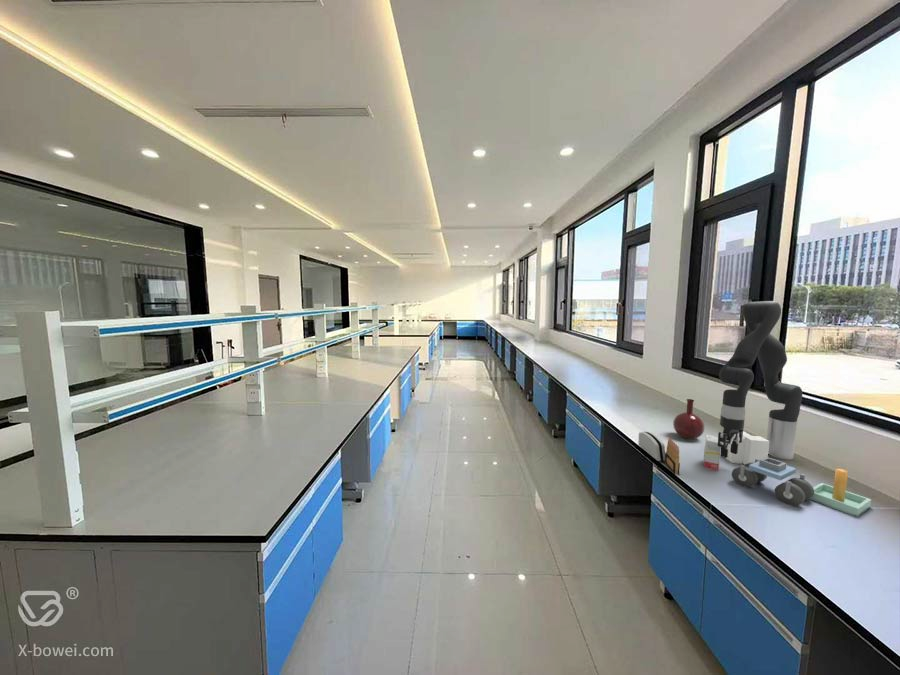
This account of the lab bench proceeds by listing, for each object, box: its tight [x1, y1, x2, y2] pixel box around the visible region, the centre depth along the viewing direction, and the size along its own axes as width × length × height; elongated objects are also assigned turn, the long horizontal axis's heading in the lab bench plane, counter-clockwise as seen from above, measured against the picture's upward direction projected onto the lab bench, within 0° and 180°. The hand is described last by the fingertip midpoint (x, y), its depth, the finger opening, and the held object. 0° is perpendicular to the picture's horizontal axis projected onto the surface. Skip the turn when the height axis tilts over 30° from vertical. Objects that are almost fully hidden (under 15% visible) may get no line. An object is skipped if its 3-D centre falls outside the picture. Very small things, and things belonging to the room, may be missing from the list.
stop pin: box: [832, 468, 849, 503], centre depth 119 cm, size 3×3×11 cm
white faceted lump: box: [725, 430, 770, 465], centre depth 150 cm, size 11×11×12 cm
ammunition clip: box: [664, 437, 681, 476], centre depth 143 cm, size 11×2×12 cm, turn 166°
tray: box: [808, 482, 872, 518], centre depth 120 cm, size 12×12×3 cm
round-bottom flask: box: [672, 398, 705, 440], centre depth 176 cm, size 13×13×20 cm
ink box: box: [703, 434, 721, 471], centre depth 147 cm, size 9×5×12 cm, turn 145°
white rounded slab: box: [638, 431, 666, 462], centre depth 157 cm, size 17×5×10 cm, turn 178°
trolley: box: [731, 456, 814, 507], centre depth 126 cm, size 12×20×12 cm, turn 27°
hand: (728, 455), depth 141 cm, fingers open, 7 cm apart
